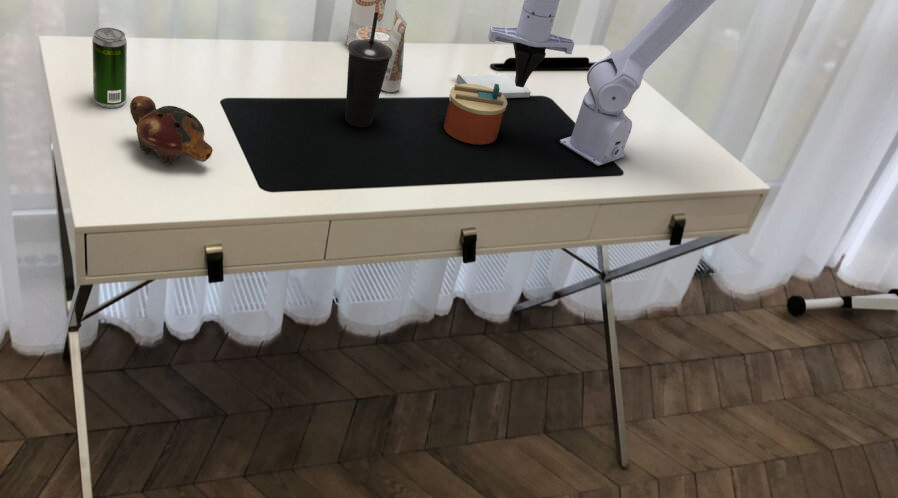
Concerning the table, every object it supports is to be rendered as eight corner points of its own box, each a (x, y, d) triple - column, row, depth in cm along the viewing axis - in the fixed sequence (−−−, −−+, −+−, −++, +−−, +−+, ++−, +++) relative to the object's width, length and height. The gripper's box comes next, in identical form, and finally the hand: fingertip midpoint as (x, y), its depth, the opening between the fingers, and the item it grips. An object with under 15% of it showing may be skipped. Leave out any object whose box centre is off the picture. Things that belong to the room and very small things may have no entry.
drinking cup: (374, 135, 170) (394, 26, 158) (332, 124, 171) (348, 15, 158) (383, 116, 176) (403, 10, 164) (343, 106, 177) (359, 0, 165)
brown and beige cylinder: (495, 121, 182) (505, 85, 177) (501, 149, 174) (511, 111, 169) (441, 113, 181) (449, 76, 176) (443, 140, 173) (452, 102, 168)
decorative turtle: (143, 126, 160) (148, 82, 155) (223, 162, 157) (231, 118, 152) (108, 147, 152) (112, 101, 147) (191, 185, 149) (198, 139, 145)
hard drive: (475, 93, 187) (531, 90, 191) (457, 73, 192) (512, 71, 197) (473, 100, 188) (529, 98, 192) (455, 81, 193) (510, 79, 198)
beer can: (132, 105, 164) (132, 38, 157) (102, 111, 161) (101, 43, 154) (117, 91, 167) (117, 25, 160) (87, 96, 164) (86, 29, 157)
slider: (495, 96, 174) (498, 83, 173) (496, 101, 173) (499, 89, 171) (477, 93, 174) (480, 81, 173) (478, 98, 172) (481, 86, 171)
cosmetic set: (416, 97, 185) (435, 1, 173) (369, 96, 182) (386, -2, 170) (378, 40, 203) (394, -50, 191) (336, 38, 200) (349, -53, 188)
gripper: (577, 8, 167) (556, 80, 176) (495, -6, 166) (477, 68, 174) (584, 24, 162) (561, 98, 170) (498, 10, 160) (480, 85, 169)
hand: (519, 84), depth 172 cm, fingers closed
